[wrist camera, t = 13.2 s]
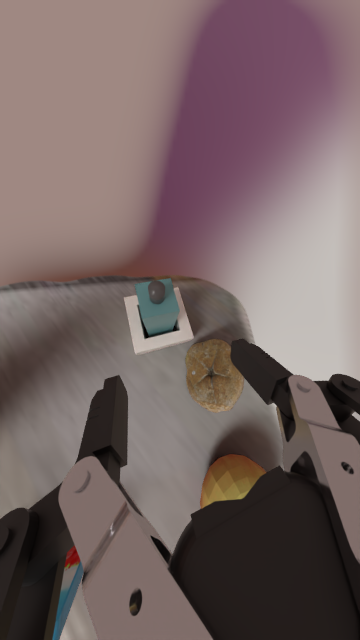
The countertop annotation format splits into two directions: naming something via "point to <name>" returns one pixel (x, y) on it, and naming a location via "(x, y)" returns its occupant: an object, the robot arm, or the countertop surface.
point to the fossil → (213, 375)
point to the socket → (159, 341)
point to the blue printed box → (68, 589)
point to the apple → (229, 479)
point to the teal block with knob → (157, 306)
